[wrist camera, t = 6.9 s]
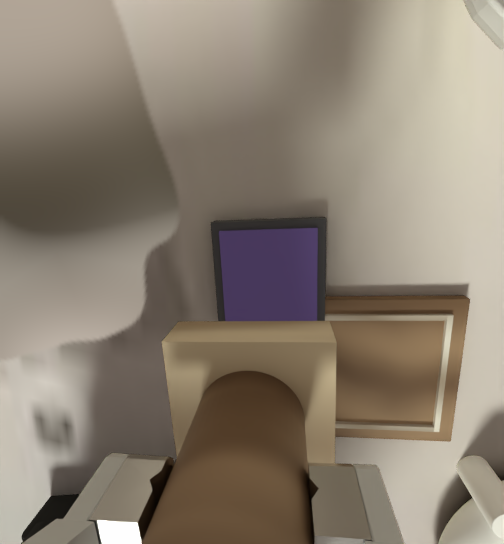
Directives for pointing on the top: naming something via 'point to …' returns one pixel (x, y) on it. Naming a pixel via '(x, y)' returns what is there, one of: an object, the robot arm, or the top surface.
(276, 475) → the stamp
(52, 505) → the coffee maker
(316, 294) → the ink pad
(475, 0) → the bowl
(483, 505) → the round stand with pegs
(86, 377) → the top surface
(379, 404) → the board
